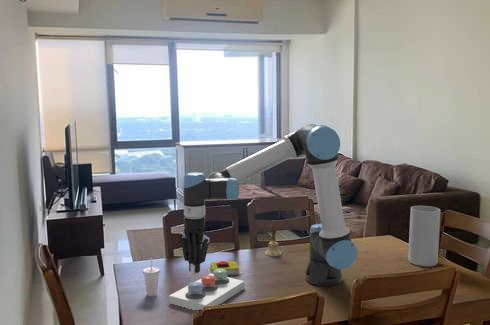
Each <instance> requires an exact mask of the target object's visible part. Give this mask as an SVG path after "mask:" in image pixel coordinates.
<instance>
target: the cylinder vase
mask: <svg viewBox="0 0 490 325" xmlns="http://www.w3.org/2000/svg"><path fill="white" fill-rule="evenodd" d="M440 224H441V209H440V208H439V207H436V206H429V205H414V206H413V205H412V206H410V216H409V233H408V234H409V235H408V236H409V238H408V258H407V259H408V262H410V264H412V265H415V266H418V267H428V268H429V267H434V266H436V265H438V262H439V261H438V260H439V244H440V229H441V228H440V227H441V226H440Z"/></svg>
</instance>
